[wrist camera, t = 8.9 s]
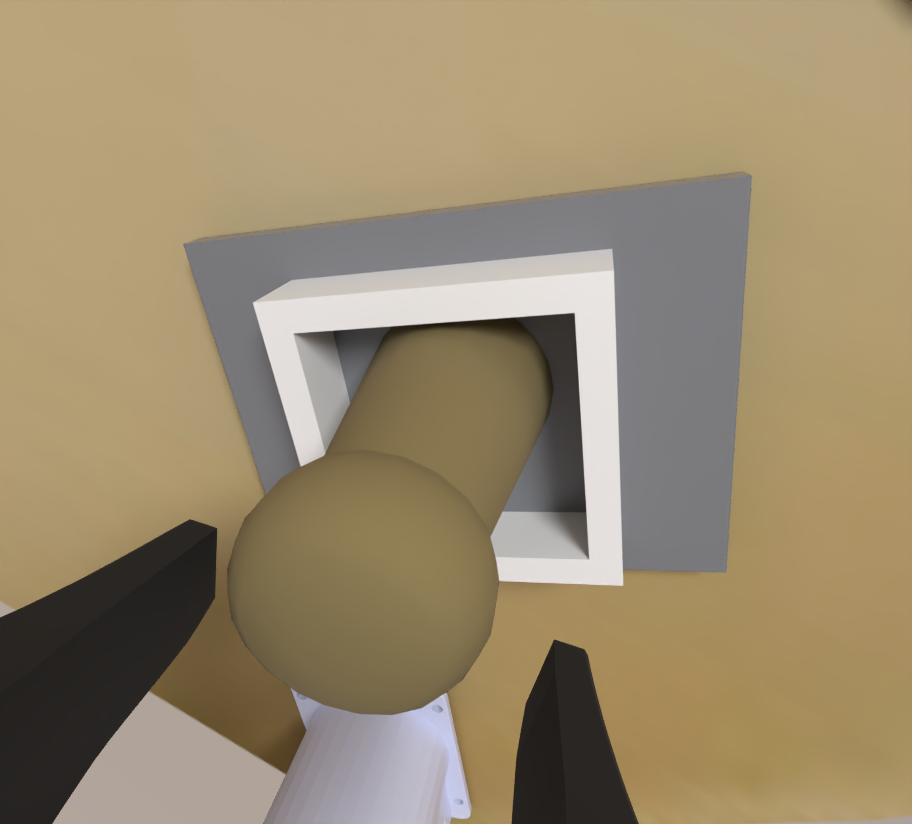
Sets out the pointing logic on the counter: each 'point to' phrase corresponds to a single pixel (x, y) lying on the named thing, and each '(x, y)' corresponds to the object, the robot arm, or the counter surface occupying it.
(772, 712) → the counter surface
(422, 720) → the robot arm
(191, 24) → the counter surface
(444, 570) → the cork
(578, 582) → the socket dock
